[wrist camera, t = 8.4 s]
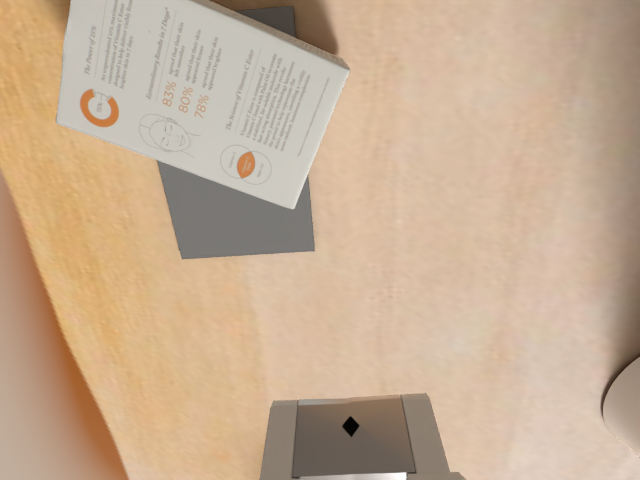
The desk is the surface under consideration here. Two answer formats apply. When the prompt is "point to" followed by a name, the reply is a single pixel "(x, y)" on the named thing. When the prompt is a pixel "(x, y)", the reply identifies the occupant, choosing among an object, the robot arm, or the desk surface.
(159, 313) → the desk surface
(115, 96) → the small box
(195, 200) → the mat
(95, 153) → the desk surface
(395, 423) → the robot arm
